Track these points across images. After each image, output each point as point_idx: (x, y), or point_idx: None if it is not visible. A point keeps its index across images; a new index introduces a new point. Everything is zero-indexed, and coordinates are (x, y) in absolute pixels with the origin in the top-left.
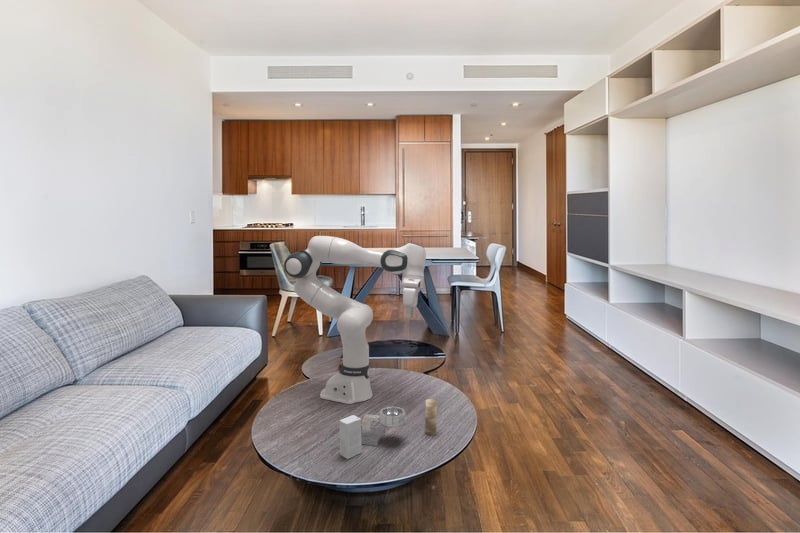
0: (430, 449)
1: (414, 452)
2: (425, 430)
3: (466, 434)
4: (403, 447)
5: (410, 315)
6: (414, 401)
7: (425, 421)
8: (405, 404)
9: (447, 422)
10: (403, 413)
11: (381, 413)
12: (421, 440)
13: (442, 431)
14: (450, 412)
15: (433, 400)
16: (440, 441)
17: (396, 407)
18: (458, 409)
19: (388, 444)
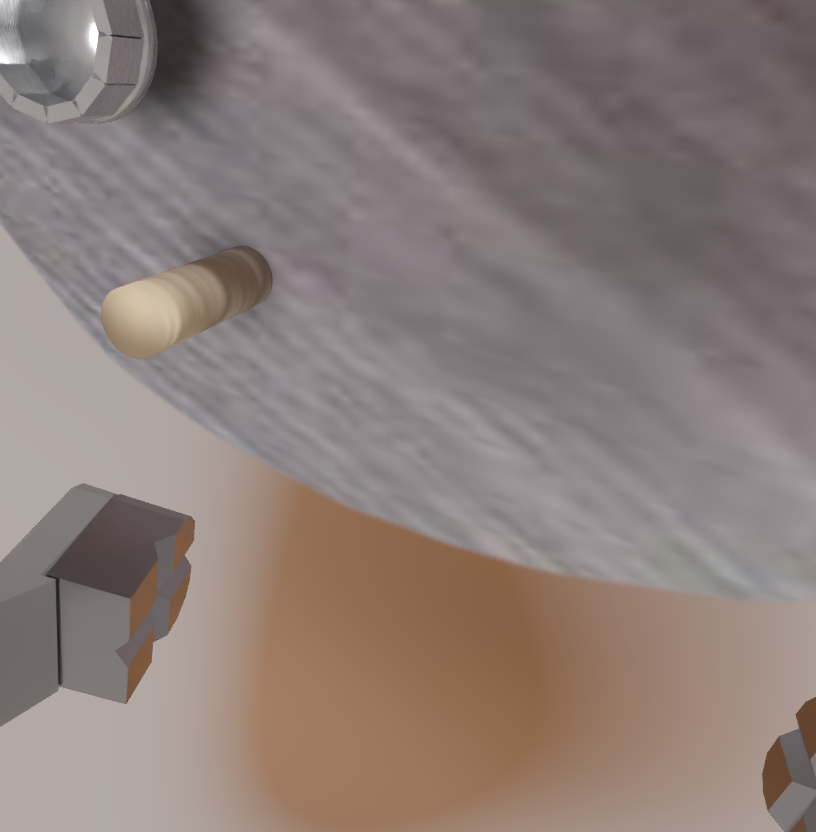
0: (100, 234)
1: (70, 150)
2: (229, 249)
3: (232, 439)
4: None
5: (811, 774)
6: (686, 278)
7: (204, 259)
8: (645, 200)
9: (353, 396)
10: (25, 107)
11: None
12: (173, 209)
13: (260, 340)
14: (471, 453)
15: (140, 339)
16: None
17: (97, 66)
18: (504, 509)
19: None
